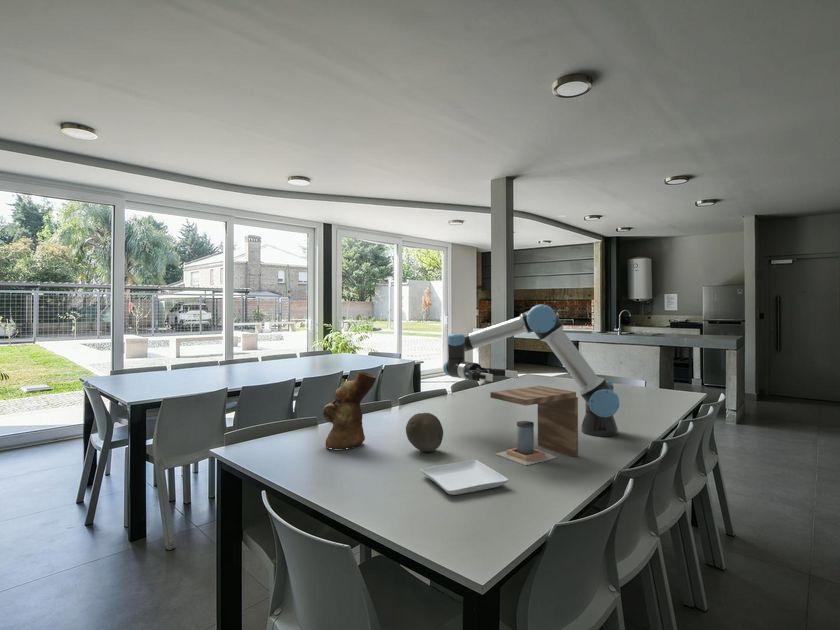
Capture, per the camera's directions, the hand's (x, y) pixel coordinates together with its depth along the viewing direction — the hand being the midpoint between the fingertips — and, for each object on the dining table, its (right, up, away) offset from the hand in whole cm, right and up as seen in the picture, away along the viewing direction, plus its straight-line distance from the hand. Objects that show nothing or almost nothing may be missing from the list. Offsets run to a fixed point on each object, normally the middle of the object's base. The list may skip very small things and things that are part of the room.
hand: (505, 376), depth 185 cm
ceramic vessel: (-62, -29, +6) cm, 69 cm away
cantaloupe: (-32, -29, -4) cm, 43 cm away
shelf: (+9, -28, -11) cm, 32 cm away
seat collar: (+6, -28, -10) cm, 31 cm away
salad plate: (-20, -29, -37) cm, 51 cm away
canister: (+6, -28, -10) cm, 30 cm away
